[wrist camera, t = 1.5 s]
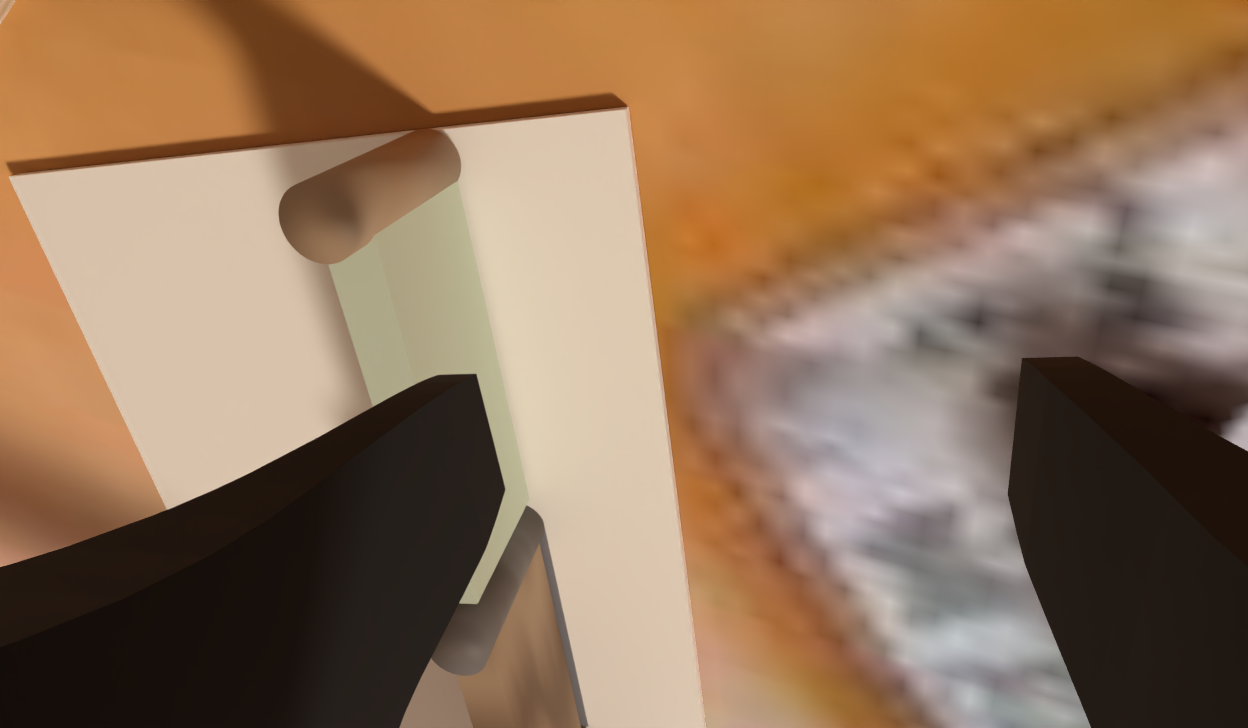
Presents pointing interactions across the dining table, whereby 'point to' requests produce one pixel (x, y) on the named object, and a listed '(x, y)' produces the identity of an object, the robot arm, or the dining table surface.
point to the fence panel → (410, 287)
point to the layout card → (335, 387)
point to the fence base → (512, 643)
